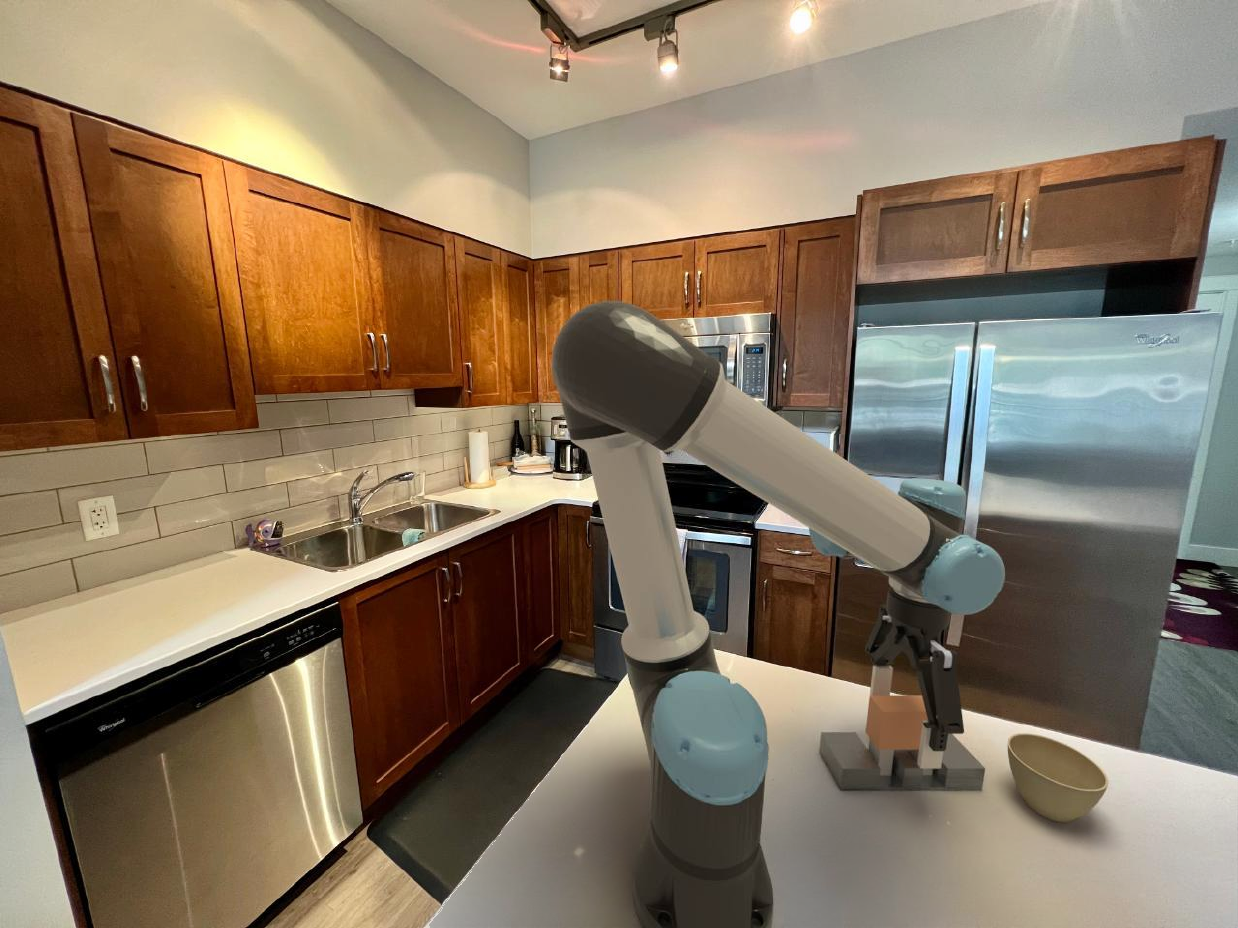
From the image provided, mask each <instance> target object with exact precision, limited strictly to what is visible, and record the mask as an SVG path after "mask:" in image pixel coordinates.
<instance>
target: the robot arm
mask: <svg viewBox="0 0 1238 928" xmlns="http://www.w3.org/2000/svg"><path fill="white" fill-rule="evenodd" d="M552 350H553V351H552V355H551V356H552V358H551V372H552V376H553V381H554V384H555V387H556V388H557V391H558V396H559V399H560V404H561V406H562V407H561V409H562V411H563V415H564V420H565V424H566V426H567V427H566V428H567V430H568V431H567V432H568V435H569V439H570V441H571V442H572V443H573V444H574V445H576V446H577V447H579V448H580V449H582V450H583V451H585V452H586V454H587V459H588V462H589V468H590V471H591V475H592V479H593V483H594V487H595V492H596V496H597V500H598V504H599V508H600V512H601V516H602V521H603V525H604V528H605V532H606V537H607V541H608V545H609V548H610V553H611V557H612V561H613V566H614V570H615V573H616V578H617V582H618V585H619V590H620V594H621V599H622V602H623V607H624V611H625V615H626V619H627V624H628V626H627V627H626V628H625V629H624V631H623V632H622V635H621V639H620V641H621V642H620V644H621V647H622V651H623V657H624V661H625V665H626V673H627V677H628V681H629V684H630V687H631V690H632V692H633V696H634V700H635V705H636V709H637V713H638V717H639V720H640V725H641V730H642V732H643V737H644V741H645V746H646V749H647V753H648V759H649V763H650V771H651V799H650V802H651V803H650V822H649V824H648V826H647V829H646V831H645V833H644V836H643V837H642V840H641V842H640V844H639V847H638V849H637V852H636V855H635V860H634V865H633V866H634V867H633V877H632V878H633V881H632V883H633V885H632V887H633V894H632V895H633V900H634V906H635V910H636V913H637V916H638V919H639V922H640V923H641V925H642V927H643V928H772V923H773V911H774V891H773V883H772V879H771V875H770V871H769V869H768V866H767V865H768V864H767V863H766V859H765V855H764V852H763V849H762V848H763V847H762V845H761V835H762V834H761V833H762V823H763V811H764V798H765V787H766V774H767V771H768V765H769V764H768V763H769V748H770V746H769V743H768V729H767V722H766V717H765V715H764V712H763V710H762V707H761V705H759V702H758V701H757V700H756V698H755V696H753V694H751V693H750V691H749V690H748V689H746V688H745V687H744V686H743V685H742V684H740V683H739V682H736V683H732V682H731V679H730V678H729V677H728V676H725V675H723V674H722V673H721V672H720V669H719V666H718V662H717V658H716V654H715V653H716V652H715V649H714V643H713V640H712V634H711V629H710V625H709V623H708V620H707V619H706V617H705V616H703V614H701V613H700V612H697V611H695V610H694V607H693V601H692V597H691V592H690V588H689V587H690V586H689V584H688V583H689V582H688V578H687V573H686V569H685V563H684V559H683V554H682V549H681V545H680V541H679V540H680V539H679V535H678V531H677V526H676V520H675V516H674V513H673V507H672V503H671V497H670V493H669V488H668V483H667V479H666V474H665V469H664V464H663V459H662V455H661V451H662V452H664V453H669V452H672V451H676V450H681V451H682V452H684V453H686V454H687V455H689V456H690V457H692V458H694V459H695V460H697V461H698V462H700V463H702V464H704V466H705V465H706V466H707V467H709V468H710V469H712V470H713V471H715V472H717V473H719V475H721V476H723V477H725V478H726V479H728V480H730V481H731V482H733V483H735V484H736V485H738V486H740V487H741V488H743V489H745V490H747V491H748V492H750V493H751V494H752V495H755V496H756V497H757V498H760V499H761V500H763V501H765V502H766V503H768V504H769V505H771V506H773V507H775V508H776V509H778V510H779V511H781V512H783V513H784V514H785V515H787V516H790V517H791V518H793V519H794V520H796V521H797V522H799V523H800V524H801V525H804V526H805V527H807V528H808V531H809V536H810V539H811V542H812V544H813V546H814V548H815V549H816V550H817V551H818V552H819V553H820V554H822V555H823V556H827V557H838V558H844V557H848V556H849V557H855V558H856V559H858V560H860V561H861V562H863V563H865V564H866V565H868V566H869V567H871V568H873V569H874V570H876V571H878V572H879V573H882V574H883V575H884V576H887V577H888V585H890V586H889V587H888V590H887V596H886V604H879V607H878V612H877V613H878V615H877V618H876V621H875V623H874V626H873V628H872V630H871V632H870V635H869V637H868V639H867V642H866V644H865V646H864V651H865V653H866V654H869V655H870V662H871V663H872V668H871V669H872V670H871V682H870V690H869V697H870V696H891V688H892V681H893V672H894V668H893V667H892V666H891V665H893V664H895V663H894V660H895V659H896V658H897V657H898V655H900V654H901V653H902V652H903V653H904V654H905V655H906V657H907V658H908V659H909V662H910V663H909V664H910V665H911V666H910V667H911V668H912V669H913V670H914V672H916V676H917V680H918V685H919V689H920V693H921V695H922V698H923V702H924V706H925V710H926V714H927V718H928V720H923V724H922V731H921V739H920V746H919V753H918V761H917V765H918V766H919V767H920V768H941V764H942V757H943V751H945V750H946V745H947V739H948V734H953V735H959V734H961V735H963V734H964V733H965V728H964V727H965V726H964V719H963V718H964V717H963V712H962V703H961V695H960V686H959V678H958V673H957V672H958V669H957V668H958V661H959V655H958V652H957V651H956V650H955V649H954V650H953V649H951V650H949V649H946V648H945V647H943V646H942V643H941V638H940V637H941V636H940V635H941V633H942V631H943V630H945V629H946V628H947V627H948V626H949V625H950V620H951V615H952V614H954V615H962V616H963V615H965V616H967V615H973V614H976V613H979V612H981V611H983V610H985V609H986V608H988V607H989V606H991V604H993V602H994V601H995V599H996V598H997V596H998V594H999V593H1000V592H1002V589H1003V586H1004V584H1005V578H1006V570H1005V565H1004V562H1003V559H1002V557H1001V556H1000V553H998V552H997V551H996V550H995V549H994V548H993V547H991V546H990V545H988V544H985V543H983V542H981V541H979V540H977V539H976V538H975V537H973V536H971V535H969V534H963V531H964V525H965V524H964V523H965V521H966V506H967V505H966V504H967V503H966V502H967V494H966V492H967V491H966V490H965V489H964V488H963V487H962V486H961V485H959V484H957V483H955V482H950V481H946V480H941V479H934V478H926V477H925V478H923V477H922V478H921V477H920V478H919V477H917V478H916V477H914V478H907V479H904V480H902V481H901V483H900V485H899V490H898V491H897V492H895V491H894V490H892V489H890V488H889V487H887V486H886V485H884V484H883V483H882V482H880V481H878V480H877V479H875V478H874V477H872V476H871V475H869V474H868V473H867V472H864V471H863V470H861V469H860V468H858V467H857V466H856V465H854V464H852V463H851V462H849V461H848V460H846V459H845V458H843V457H842V456H840V455H839V454H838V453H836V452H834V451H833V450H832V449H830V448H829V447H827V446H825V445H824V444H822V443H821V442H819V441H818V440H816V439H815V438H813V437H812V436H810V435H809V434H807V433H806V432H805V431H803V430H801V429H800V428H799V427H797V426H795V425H794V424H792V423H791V422H789V421H788V420H787V419H785V418H783V417H782V416H780V415H778V414H777V413H776V412H774V411H773V410H771V409H770V408H768V407H766V406H765V405H764V404H762V403H761V402H760V401H757V400H756V399H755V398H753V397H752V396H750V395H749V394H747V393H746V392H744V391H742V390H741V389H739V388H738V387H737V386H735V385H733V384H732V383H731V382H730V381H727V380H726V377H725V372H724V367H723V366H724V365H723V363H721V362H720V361H719V360H718V359H716V358H714V356H713V357H712V356H711V355H710V354H709V353H706V352H705V351H704V350H702V349H701V348H699V347H698V346H697V345H695V344H694V343H693V342H691V341H690V340H688V339H687V338H686V337H685V336H684V335H682V334H680V333H678V332H677V331H676V330H674V329H673V328H672V327H670V326H669V325H668V324H666V323H665V322H663V321H662V320H661V319H659V318H658V317H657V316H655V315H653V314H652V313H651V312H649V311H647V310H645V309H643V308H642V307H640V306H638V305H635V304H632V303H628V302H625V301H620V300H604V301H598V302H594V303H591V304H589V305H587V306H585V307H582V308H580V309H579V310H578V311H577V312H575V313H574V314H573V315H572V316H570V317H569V318H568V319H567V321H565V323H564V324H563V325H562V326H561V329H560V330H559V333H558V335H557V337H556V339H555V342H554V346H553V349H552ZM928 660H930V663H926V661H928ZM921 661H922V662H923V661H924V662H925V663H921ZM936 716H937V718H936Z"/></svg>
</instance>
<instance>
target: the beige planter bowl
mask: <svg viewBox="0 0 1238 928" xmlns="http://www.w3.org/2000/svg"><path fill="white" fill-rule="evenodd" d="M1007 756H1008V763H1009V768H1010V772H1011V775H1012V777H1013V780H1014V783H1015V786H1016V787H1017V789H1018V792H1019V794H1020V795H1021V798H1022V800H1023V801H1024V802H1025V803H1026V805H1028V807H1029V808H1031V809H1032V811H1034V812H1036V813H1037V814H1039V815H1041V816H1042V817H1044V818H1047V819H1049V820H1051V821H1054V822H1058V823H1068V822H1071V821H1075V820H1077V819H1078V818H1081V817H1082V816H1084V815H1085V814H1087V813H1088V812H1089V811H1091V810H1092V809H1093V808H1094V807H1095V806H1096V805H1097V804H1098V803H1099V801H1100V800H1101V799H1102V797H1103V796H1104V794H1105V793H1106V790H1107V788H1108V786H1109V778H1108V776H1107V774H1106V773H1105V771H1104V770H1103V769H1102V767H1100V766H1099V765H1098V764H1097V763H1096V762H1095V761H1094V760H1092V759H1091V758H1090V757H1088V756H1087V755H1085V754H1084V753H1082V752H1081V751H1079V750H1077V749H1075V748H1074V747H1072V746H1070V745H1068V744H1067V743H1064V742H1061V741H1058V740H1057V739H1054V738H1051V737H1048V736H1044V735H1041V734H1036V733H1028V732H1027V733H1025V732H1024V733H1023V732H1022V733H1015V734H1013V735H1011V736H1010V737H1009V738H1008V739H1007Z"/></svg>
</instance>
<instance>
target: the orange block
mask: <svg viewBox="0 0 1238 928" xmlns="http://www.w3.org/2000/svg"><path fill="white" fill-rule="evenodd" d="M866 716H867V717H866V725H865V734H866V735H867V736H868V738H869V740H868V748H867V749H868V751H869V752H870V754H871V755H872V757H873V758H874V760H875V761H876V762H877V764H878V765H879V767H880V768H881V770H880V775H891V771H892V763H893V755H894V750H909V751H910V752H911V753H912V755H913V756H914V757H915V758H916V760H917V761H918V753H919V746H920V739H921V731H922V724H923V720H928V718H927V714H926V710H925V706H924V702H923V698H922V694H921V695H919V694H918V695H914V694H913V695H912V694H911V695H906V694H905V695H901V694H900V695H890V696H870V695H869V699H868V706H867V715H866ZM936 718H937V716H936ZM932 772H933V768H924V769H923V775H932Z"/></svg>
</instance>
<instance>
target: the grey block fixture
mask: <svg viewBox="0 0 1238 928" xmlns="http://www.w3.org/2000/svg"><path fill="white" fill-rule="evenodd" d="M818 753H819V755H820V757H821V759H822V760H823V762H824V763H825V765H826V766H825V767H826V768H828V771H829V773H830V774H831V776H832V778H833V780H834V781H835V783H836V785H837V787H838V789H839V791H842V792H843V791H845V792H846V791H850V792H851V791H861V792H862V791H863V792H864V791H865V792H866V791H982V790H983V784H984V779H985V772H986V767H985V766H984V765H983V764H982V763H981V762H980V761H979V760H978V759H977V758H976V757H975V756H974V755H973V754H972V752H970V751H969V749H967V748H966V746H964V745H963V743H962V742H961V741H960V740H959V739H958V738H957V737H956V736H955V734H948V739H947V745H946V750H945V751H943V757H942V764H941V768H933V772H932V775H923V769H924V768H920V767H919V766H918V765H917V760H916V758H915V757H914V756H913V755H912V753H911V752H910V751H909V750H894V755H893V763H892V771H891V775H880V770H881V768H880V767H879V765H878V764H877V762H876V761H875V760H874V758H873V757H872V755H871V754H870V752H869V751H868V748H867V747H866V745H865V744H864V742H863V741H862V739H861V738H860V736H859V735H858V734H857V732H856V731H855V732H854V731H851V732H849V731H845V732H843V731H840V732H839V731H837V732H836V731H832V732H831V731H830V732H829V731H828V732H827V731H826V732H825V731H821V732H820V742H819V751H818Z"/></svg>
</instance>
